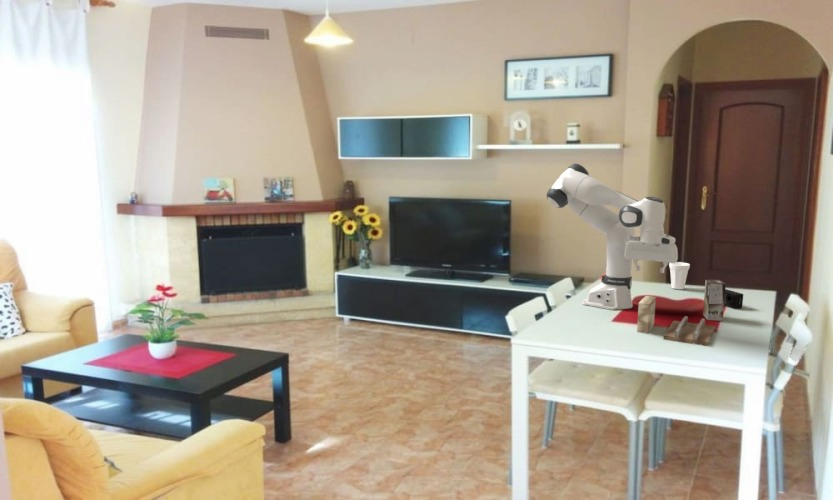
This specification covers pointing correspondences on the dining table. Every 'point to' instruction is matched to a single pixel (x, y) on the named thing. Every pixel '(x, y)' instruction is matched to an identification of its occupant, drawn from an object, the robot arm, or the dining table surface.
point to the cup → (678, 274)
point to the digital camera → (733, 299)
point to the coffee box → (714, 299)
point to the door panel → (646, 314)
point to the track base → (690, 332)
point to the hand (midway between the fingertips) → (649, 271)
